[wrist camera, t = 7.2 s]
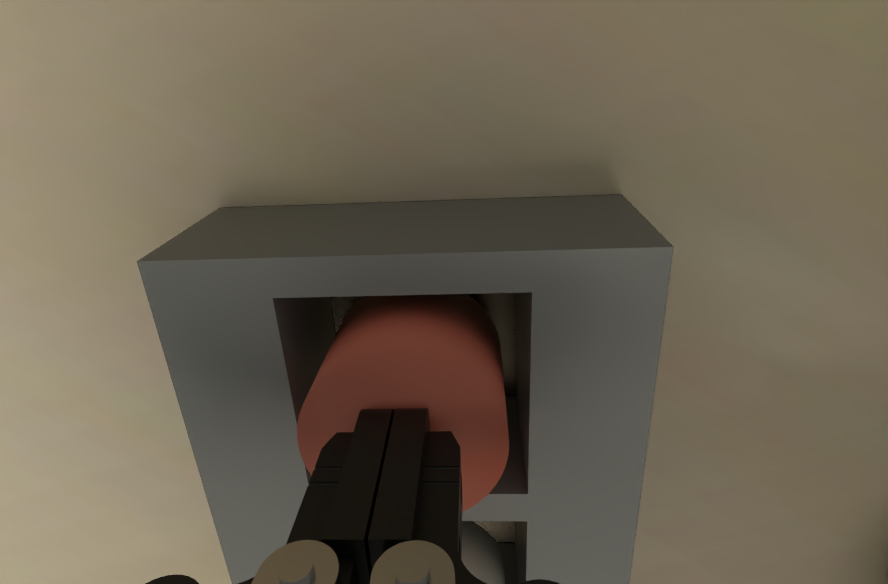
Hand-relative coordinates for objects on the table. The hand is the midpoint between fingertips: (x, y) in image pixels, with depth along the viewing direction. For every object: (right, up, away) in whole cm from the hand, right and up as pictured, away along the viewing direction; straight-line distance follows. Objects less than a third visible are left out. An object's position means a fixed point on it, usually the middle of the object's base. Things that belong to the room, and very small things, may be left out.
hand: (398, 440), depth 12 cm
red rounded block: (0, +2, +4) cm, 4 cm away
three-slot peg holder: (+1, -4, +8) cm, 9 cm away
